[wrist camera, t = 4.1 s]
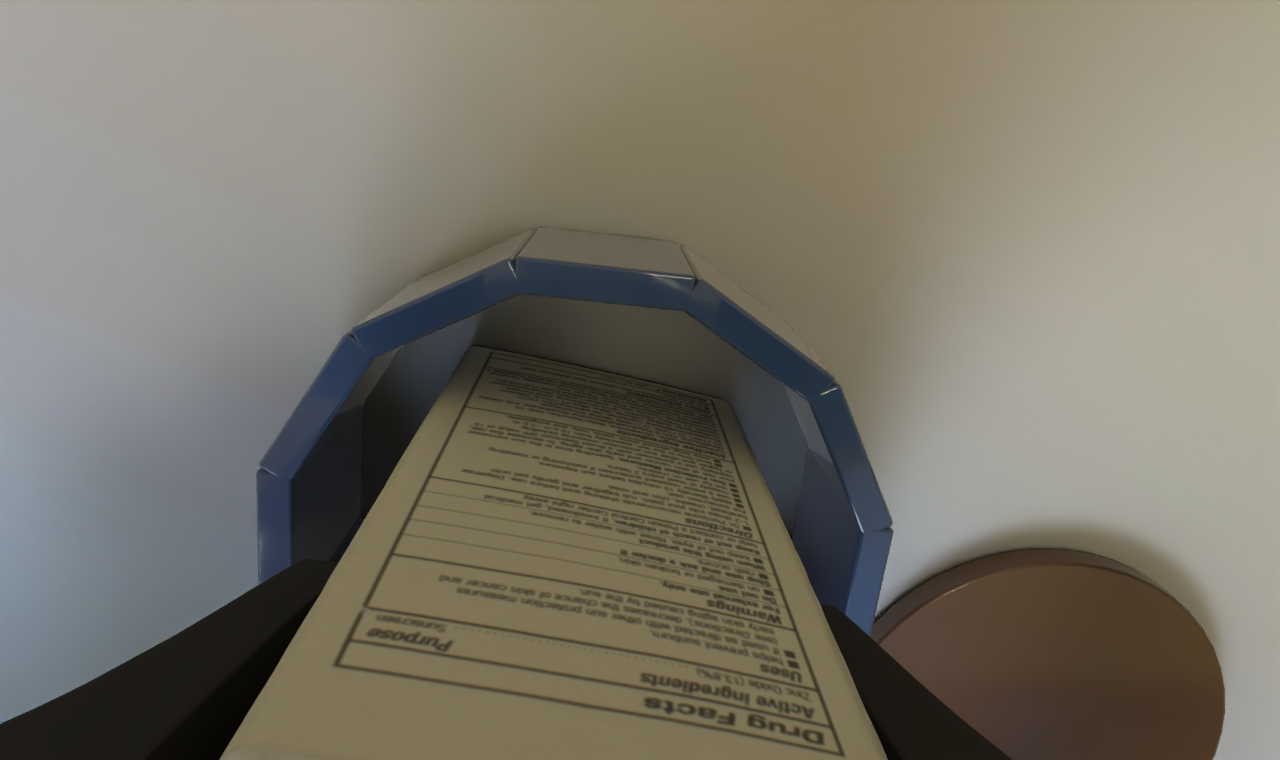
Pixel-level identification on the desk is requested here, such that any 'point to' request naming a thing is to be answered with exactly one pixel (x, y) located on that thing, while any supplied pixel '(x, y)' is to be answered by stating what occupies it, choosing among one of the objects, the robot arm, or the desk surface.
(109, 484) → the desk surface
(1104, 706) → the walnut coaster
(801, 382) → the blue ring
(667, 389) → the drug facts carton
